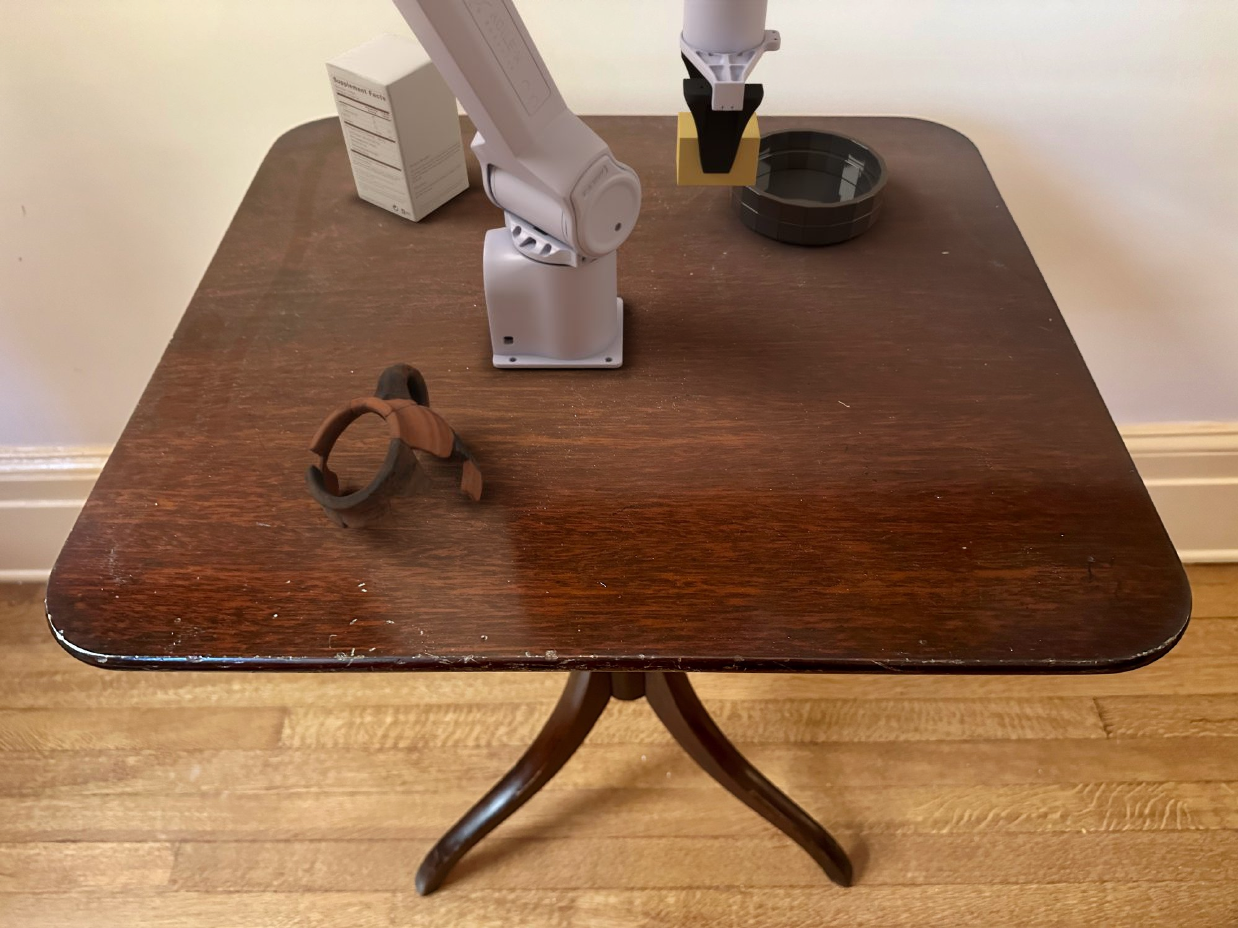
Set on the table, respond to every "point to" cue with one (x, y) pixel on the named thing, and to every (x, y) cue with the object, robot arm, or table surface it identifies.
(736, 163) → the yellow box
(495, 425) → the table surface
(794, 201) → the pan
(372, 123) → the white packaging box
